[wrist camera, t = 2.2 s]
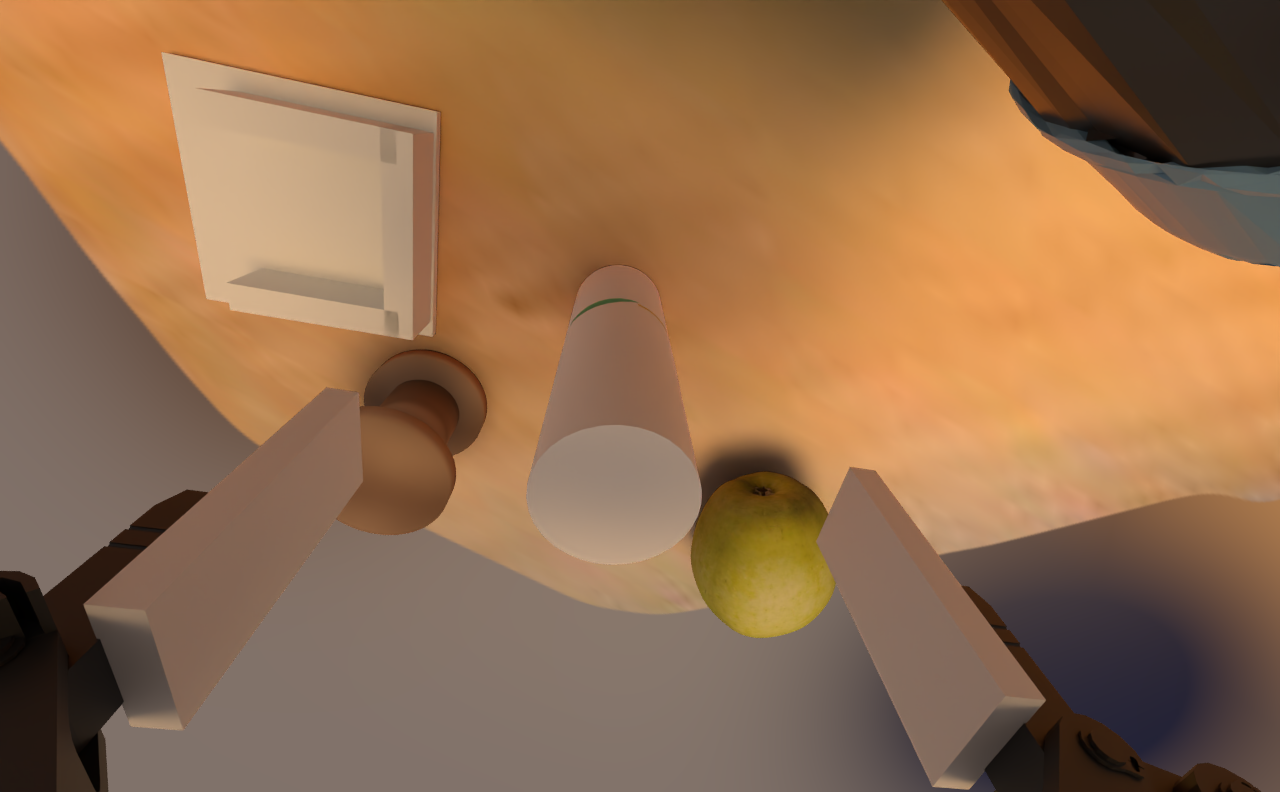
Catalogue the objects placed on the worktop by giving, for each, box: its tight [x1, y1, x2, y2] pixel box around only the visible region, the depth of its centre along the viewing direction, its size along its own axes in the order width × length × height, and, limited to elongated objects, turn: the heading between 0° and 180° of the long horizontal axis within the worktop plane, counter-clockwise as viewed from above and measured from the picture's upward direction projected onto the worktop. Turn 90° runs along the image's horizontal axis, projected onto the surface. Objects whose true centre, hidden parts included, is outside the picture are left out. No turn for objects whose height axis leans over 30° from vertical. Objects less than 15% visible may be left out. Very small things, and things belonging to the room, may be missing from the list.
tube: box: [526, 265, 702, 565], centre depth 20 cm, size 4×4×15 cm
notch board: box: [161, 52, 441, 340], centre depth 22 cm, size 10×10×3 cm
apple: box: [691, 471, 836, 638], centre depth 29 cm, size 8×9×8 cm
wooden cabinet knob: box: [336, 350, 487, 535], centre depth 25 cm, size 6×6×7 cm
